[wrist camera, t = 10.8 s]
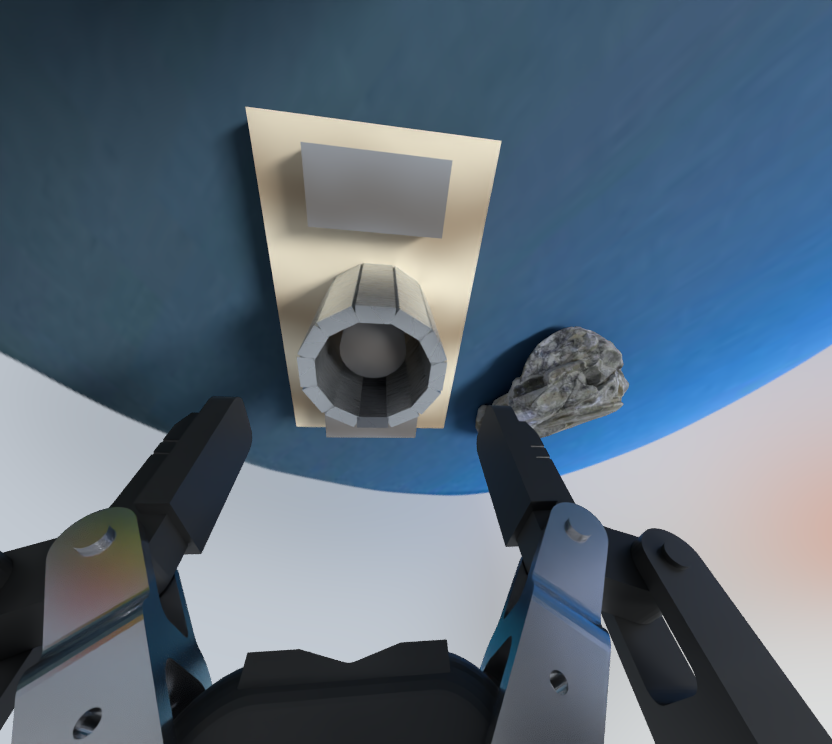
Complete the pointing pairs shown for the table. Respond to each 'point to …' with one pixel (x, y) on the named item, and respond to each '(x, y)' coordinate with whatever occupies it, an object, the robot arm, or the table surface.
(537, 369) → the fossilized seashell
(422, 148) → the shaft block
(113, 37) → the table surface
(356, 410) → the hub ring
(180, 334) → the table surface
